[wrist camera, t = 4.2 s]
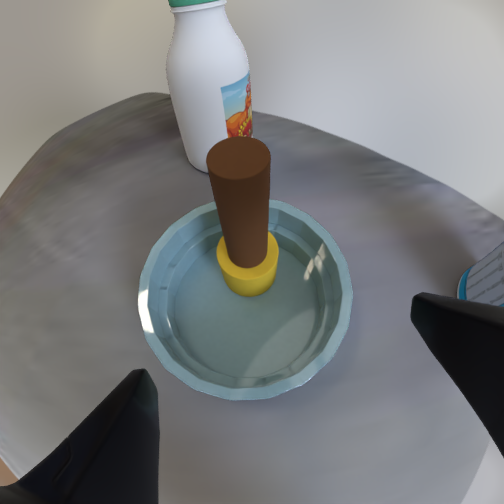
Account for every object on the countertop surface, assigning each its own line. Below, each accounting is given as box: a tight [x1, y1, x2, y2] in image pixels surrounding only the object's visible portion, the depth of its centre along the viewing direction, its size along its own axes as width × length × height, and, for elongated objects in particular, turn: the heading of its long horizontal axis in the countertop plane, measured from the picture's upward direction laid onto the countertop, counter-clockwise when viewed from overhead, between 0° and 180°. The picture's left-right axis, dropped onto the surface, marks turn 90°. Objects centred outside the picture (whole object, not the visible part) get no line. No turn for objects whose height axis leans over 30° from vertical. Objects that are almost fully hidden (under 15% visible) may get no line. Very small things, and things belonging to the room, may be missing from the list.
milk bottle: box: [166, 0, 253, 173], centre depth 21 cm, size 8×8×20 cm
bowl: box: [138, 199, 353, 401], centre depth 20 cm, size 15×15×5 cm
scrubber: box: [206, 136, 279, 297], centre depth 17 cm, size 4×4×13 cm
